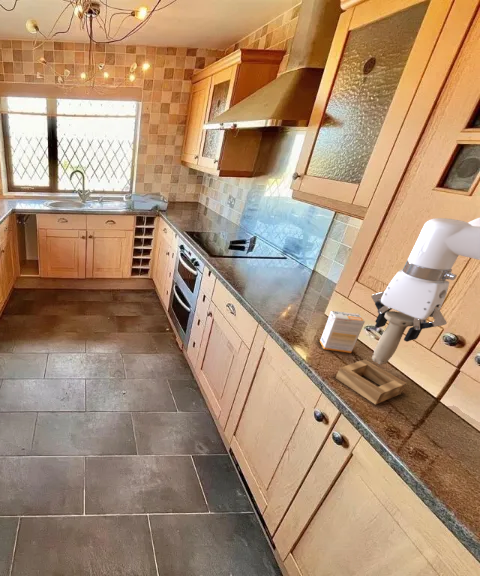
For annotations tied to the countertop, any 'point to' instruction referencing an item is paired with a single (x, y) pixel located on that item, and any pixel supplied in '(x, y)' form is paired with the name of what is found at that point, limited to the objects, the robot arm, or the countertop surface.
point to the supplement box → (341, 331)
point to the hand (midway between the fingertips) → (393, 332)
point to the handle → (391, 336)
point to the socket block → (387, 382)
